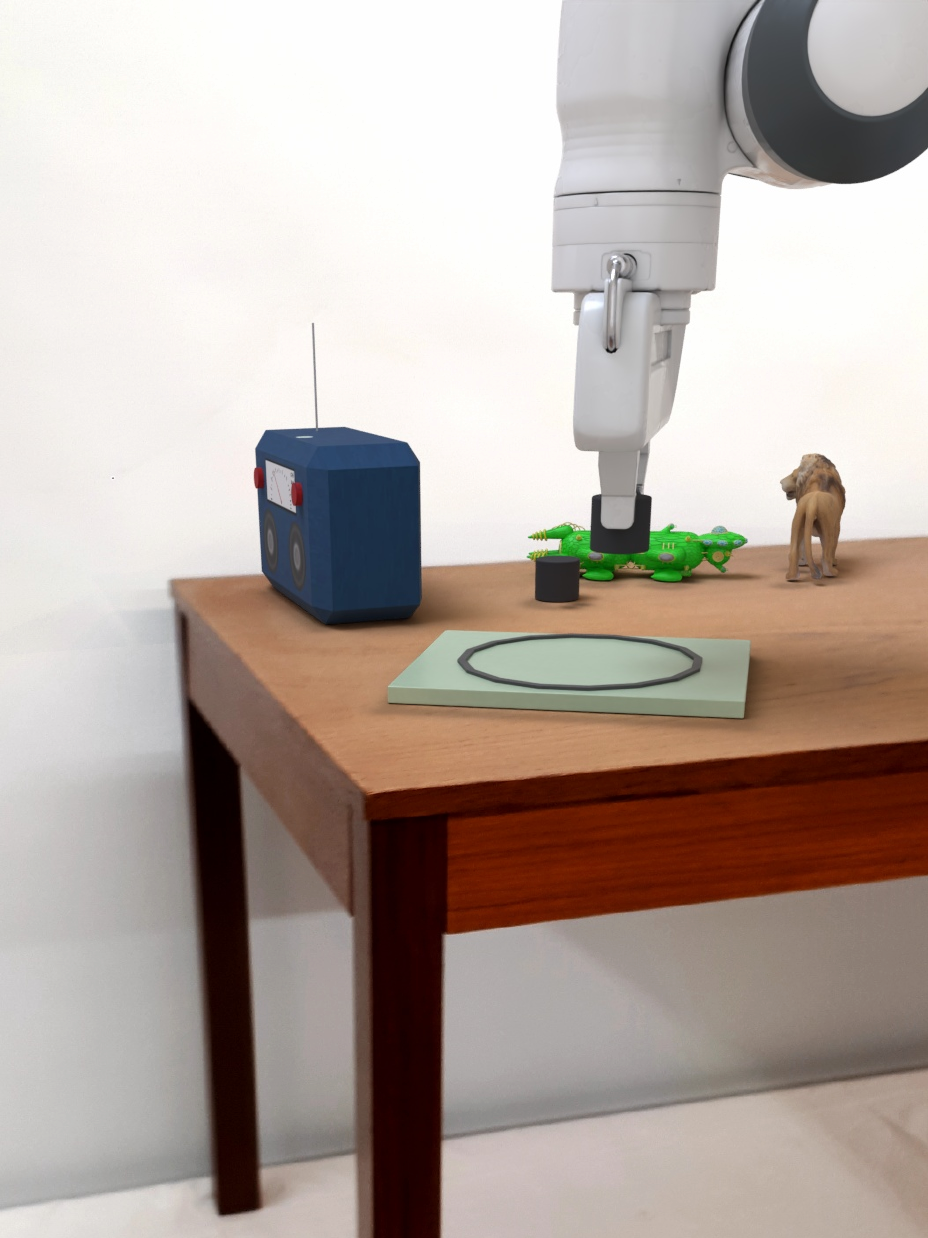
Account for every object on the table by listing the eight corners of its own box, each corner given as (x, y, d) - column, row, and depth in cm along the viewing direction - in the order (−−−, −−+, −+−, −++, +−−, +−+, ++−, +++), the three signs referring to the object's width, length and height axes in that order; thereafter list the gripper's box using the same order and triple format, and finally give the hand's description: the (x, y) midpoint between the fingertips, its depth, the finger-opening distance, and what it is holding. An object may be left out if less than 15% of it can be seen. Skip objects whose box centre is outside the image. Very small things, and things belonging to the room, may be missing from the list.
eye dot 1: (581, 594, 115) (582, 555, 114) (576, 602, 112) (577, 562, 111) (538, 593, 116) (539, 555, 114) (531, 601, 113) (532, 561, 111)
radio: (250, 584, 121) (235, 323, 114) (352, 576, 124) (344, 321, 116) (314, 632, 103) (301, 325, 95) (432, 622, 106) (429, 323, 98)
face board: (750, 655, 94) (751, 636, 94) (743, 718, 80) (745, 697, 79) (445, 644, 99) (445, 627, 98) (387, 703, 84) (386, 682, 84)
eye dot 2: (651, 546, 86) (654, 493, 85) (646, 555, 83) (649, 500, 82) (593, 544, 87) (595, 492, 86) (586, 553, 84) (588, 499, 83)
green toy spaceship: (746, 584, 118) (750, 529, 116) (523, 580, 121) (523, 527, 119) (743, 570, 124) (747, 518, 122) (531, 567, 127) (532, 516, 125)
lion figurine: (773, 557, 131) (781, 451, 127) (834, 557, 130) (844, 451, 126) (786, 585, 117) (795, 468, 114) (855, 586, 116) (866, 468, 113)
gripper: (681, 250, 69) (664, 550, 74) (703, 262, 87) (688, 501, 93) (547, 252, 70) (540, 547, 76) (596, 263, 89) (588, 499, 94)
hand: (622, 521), depth 84 cm, fingers closed on eye dot 2, 3 cm apart
